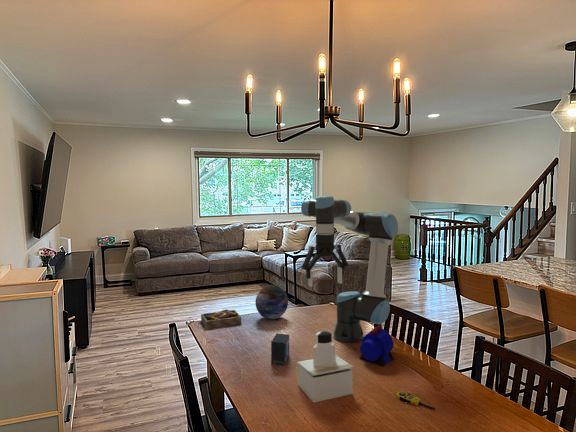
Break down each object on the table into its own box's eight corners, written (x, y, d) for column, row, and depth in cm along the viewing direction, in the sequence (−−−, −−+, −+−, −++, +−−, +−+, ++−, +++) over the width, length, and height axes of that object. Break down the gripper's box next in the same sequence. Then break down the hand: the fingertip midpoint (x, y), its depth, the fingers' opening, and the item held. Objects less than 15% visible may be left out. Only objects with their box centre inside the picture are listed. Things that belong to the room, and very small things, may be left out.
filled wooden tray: (234, 316, 253) (234, 309, 253) (241, 323, 239) (241, 316, 239) (201, 320, 246) (201, 313, 245) (206, 328, 232) (205, 321, 231)
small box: (285, 366, 183) (284, 342, 182) (270, 364, 184) (270, 341, 183) (290, 356, 193) (289, 333, 192) (276, 355, 194) (275, 333, 194)
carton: (334, 378, 170) (334, 356, 170) (352, 394, 157) (352, 370, 157) (298, 385, 165) (298, 363, 164) (313, 402, 152) (313, 378, 151)
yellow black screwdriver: (400, 389, 158) (438, 403, 147) (400, 394, 158) (438, 408, 147) (393, 393, 154) (432, 408, 144) (393, 398, 154) (432, 414, 144)
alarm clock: (394, 359, 188) (395, 326, 187) (380, 368, 179) (380, 333, 178) (371, 352, 196) (371, 320, 195) (356, 360, 187) (356, 327, 186)
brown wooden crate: (238, 320, 244) (237, 312, 244) (215, 328, 233) (214, 319, 232) (226, 316, 252) (226, 308, 252) (203, 323, 241) (203, 315, 240)
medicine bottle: (336, 361, 162) (334, 330, 162) (331, 368, 156) (330, 335, 156) (318, 360, 165) (316, 329, 165) (313, 366, 158) (311, 334, 158)
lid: (335, 356, 170) (335, 354, 170) (353, 368, 157) (353, 366, 157) (297, 363, 164) (297, 361, 164) (312, 376, 151) (312, 374, 151)
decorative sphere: (252, 323, 239) (251, 288, 238) (260, 313, 259) (259, 280, 257) (285, 325, 236) (284, 289, 234) (290, 314, 256) (290, 281, 254)
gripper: (347, 231, 182) (347, 279, 183) (293, 234, 173) (294, 285, 174) (356, 233, 175) (356, 283, 176) (300, 236, 166) (301, 289, 167)
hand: (325, 284), depth 175 cm, fingers open, 13 cm apart
